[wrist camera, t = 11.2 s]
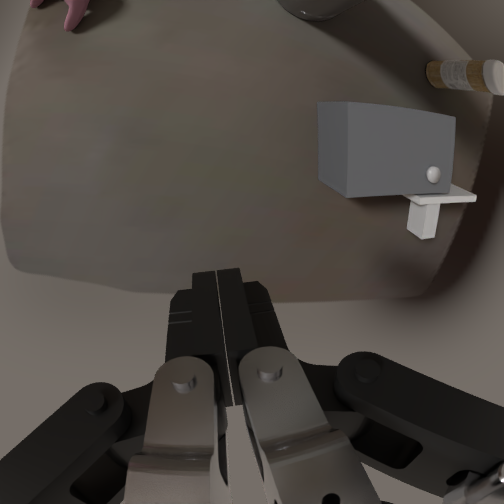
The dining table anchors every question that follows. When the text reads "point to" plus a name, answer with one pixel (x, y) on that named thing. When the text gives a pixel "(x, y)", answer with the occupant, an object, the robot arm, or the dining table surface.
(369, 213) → the dining table surface
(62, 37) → the dining table surface
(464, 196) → the side cover
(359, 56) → the dining table surface
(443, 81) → the sprinkles bottle
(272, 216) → the dining table surface
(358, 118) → the box
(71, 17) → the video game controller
